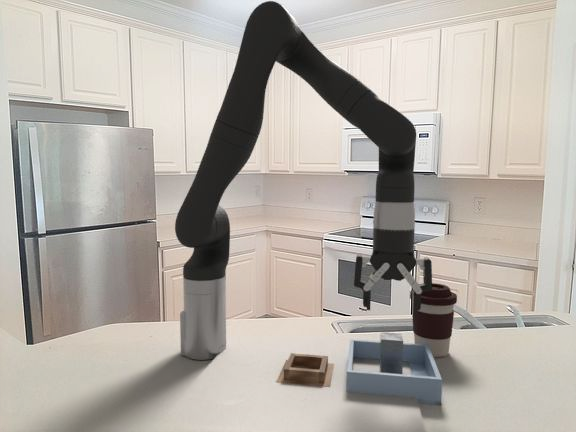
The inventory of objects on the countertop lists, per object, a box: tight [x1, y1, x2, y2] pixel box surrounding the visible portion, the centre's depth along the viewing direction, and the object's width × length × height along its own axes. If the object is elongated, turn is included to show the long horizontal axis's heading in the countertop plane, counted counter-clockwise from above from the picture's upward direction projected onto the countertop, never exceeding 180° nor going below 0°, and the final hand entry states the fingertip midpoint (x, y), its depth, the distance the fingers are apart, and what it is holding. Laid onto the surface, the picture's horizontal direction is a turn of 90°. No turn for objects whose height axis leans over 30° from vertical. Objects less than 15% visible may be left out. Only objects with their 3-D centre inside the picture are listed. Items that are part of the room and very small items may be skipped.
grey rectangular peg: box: [379, 331, 404, 374], centre depth 80 cm, size 4×4×8 cm
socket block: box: [275, 352, 335, 388], centre depth 81 cm, size 10×10×3 cm
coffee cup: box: [409, 282, 458, 358], centre depth 94 cm, size 10×10×15 cm
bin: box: [346, 338, 443, 406], centre depth 80 cm, size 16×16×4 cm
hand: (391, 310), depth 79 cm, fingers open, 8 cm apart
